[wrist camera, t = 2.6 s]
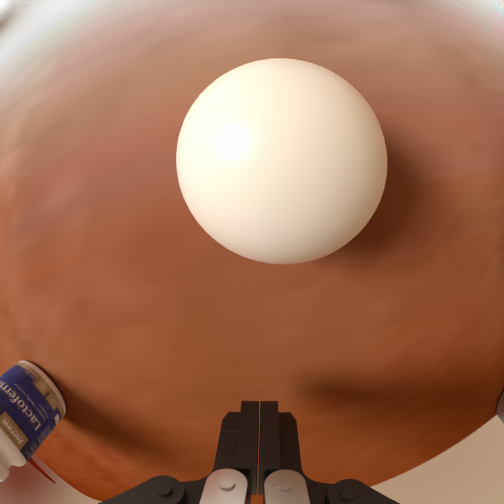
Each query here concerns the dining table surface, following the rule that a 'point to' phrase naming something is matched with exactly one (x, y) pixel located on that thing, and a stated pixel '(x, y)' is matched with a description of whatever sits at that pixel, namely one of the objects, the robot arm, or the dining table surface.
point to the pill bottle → (26, 413)
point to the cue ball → (281, 161)
